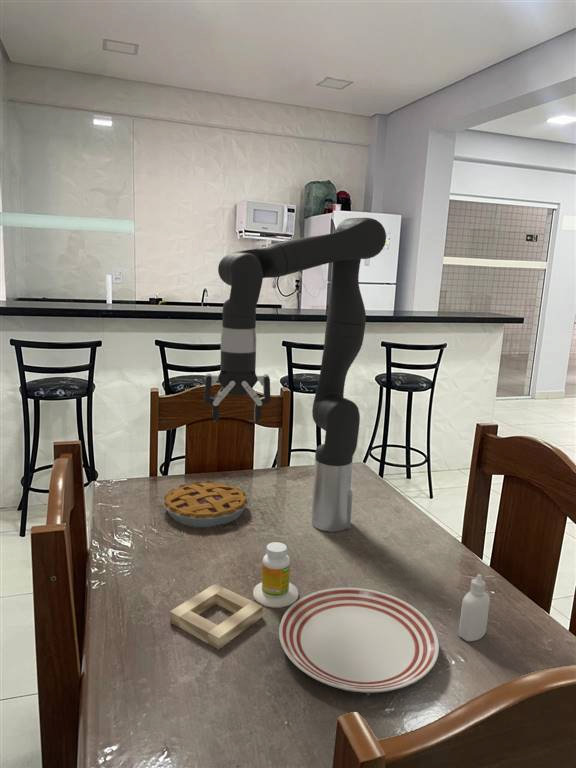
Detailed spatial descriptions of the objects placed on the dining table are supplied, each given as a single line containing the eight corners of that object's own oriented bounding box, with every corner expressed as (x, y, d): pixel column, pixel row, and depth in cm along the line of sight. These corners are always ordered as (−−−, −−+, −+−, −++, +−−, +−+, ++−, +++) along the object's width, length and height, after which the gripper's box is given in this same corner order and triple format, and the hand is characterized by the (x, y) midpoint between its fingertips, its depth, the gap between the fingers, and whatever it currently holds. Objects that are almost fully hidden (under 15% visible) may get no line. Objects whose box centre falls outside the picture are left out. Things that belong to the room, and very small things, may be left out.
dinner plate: (402, 734, 84) (404, 714, 84) (247, 660, 98) (247, 643, 97) (457, 635, 107) (459, 618, 106) (325, 586, 121) (326, 572, 120)
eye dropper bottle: (452, 627, 109) (459, 568, 106) (481, 626, 110) (489, 568, 107) (462, 642, 105) (469, 582, 102) (492, 641, 105) (500, 581, 103)
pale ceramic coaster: (294, 581, 122) (294, 578, 122) (302, 606, 113) (302, 603, 113) (251, 583, 121) (251, 580, 120) (255, 609, 112) (255, 606, 112)
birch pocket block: (214, 593, 116) (215, 583, 116) (262, 616, 110) (262, 606, 109) (169, 622, 107) (169, 611, 106) (218, 649, 100) (218, 638, 100)
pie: (147, 507, 155) (147, 489, 153) (217, 488, 169) (217, 472, 167) (191, 539, 138) (191, 519, 137) (264, 515, 152) (264, 498, 151)
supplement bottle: (285, 601, 114) (287, 555, 112) (258, 596, 115) (259, 551, 113) (291, 586, 119) (293, 542, 117) (265, 582, 120) (267, 538, 118)
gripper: (205, 350, 120) (204, 426, 124) (273, 351, 123) (271, 426, 126) (204, 345, 128) (203, 417, 131) (269, 346, 130) (266, 416, 133)
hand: (236, 421), depth 129 cm, fingers open, 8 cm apart
